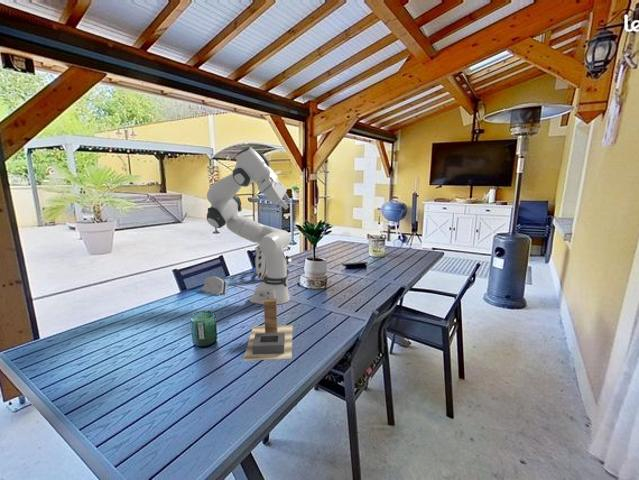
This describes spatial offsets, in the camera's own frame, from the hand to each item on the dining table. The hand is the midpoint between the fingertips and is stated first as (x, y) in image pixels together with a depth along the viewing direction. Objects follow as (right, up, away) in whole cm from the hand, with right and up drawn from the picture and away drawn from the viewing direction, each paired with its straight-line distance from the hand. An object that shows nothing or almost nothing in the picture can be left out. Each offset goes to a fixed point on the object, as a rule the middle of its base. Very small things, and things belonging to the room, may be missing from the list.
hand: (288, 205), depth 138 cm
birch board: (-7, -58, -7) cm, 59 cm away
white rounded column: (-20, -40, +88) cm, 98 cm away
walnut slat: (-7, -56, -2) cm, 57 cm away
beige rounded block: (-50, -47, +54) cm, 87 cm away
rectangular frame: (-7, -58, -12) cm, 60 cm away
